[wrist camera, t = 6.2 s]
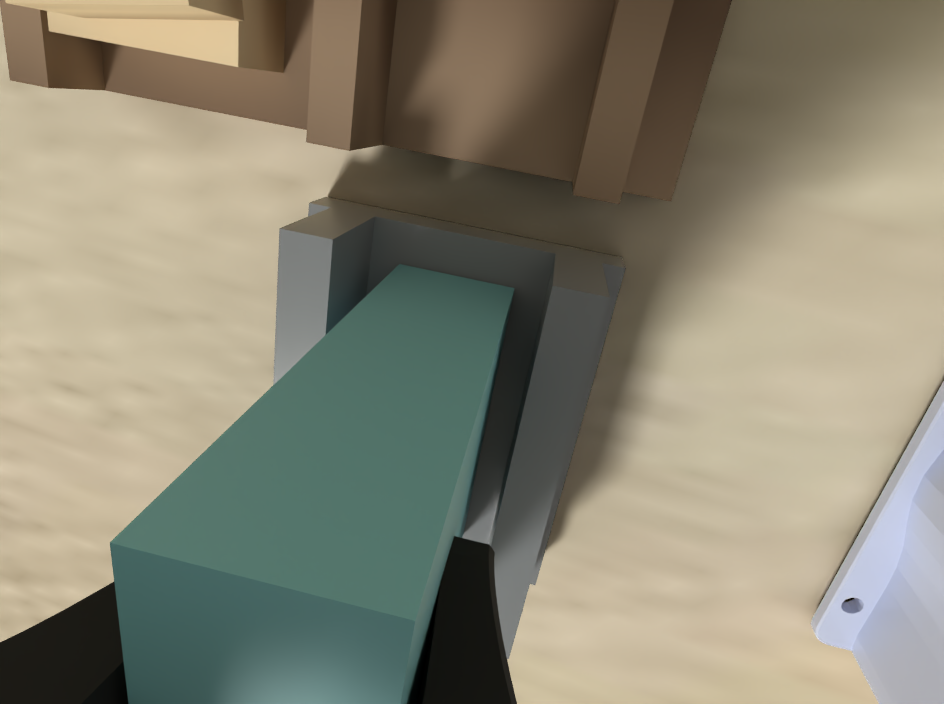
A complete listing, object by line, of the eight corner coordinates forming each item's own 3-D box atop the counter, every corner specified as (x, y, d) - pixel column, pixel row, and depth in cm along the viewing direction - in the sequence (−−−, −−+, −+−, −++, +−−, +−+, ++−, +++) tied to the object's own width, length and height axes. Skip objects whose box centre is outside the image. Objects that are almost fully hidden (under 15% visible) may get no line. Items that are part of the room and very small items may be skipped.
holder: (537, 559, 17) (529, 664, 14) (305, 502, 17) (245, 591, 14) (622, 257, 13) (638, 303, 10) (326, 196, 14) (253, 223, 11)
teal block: (463, 534, 16) (346, 1005, 8) (369, 511, 16) (156, 947, 8) (514, 288, 13) (416, 620, 5) (399, 264, 13) (109, 542, 5)
